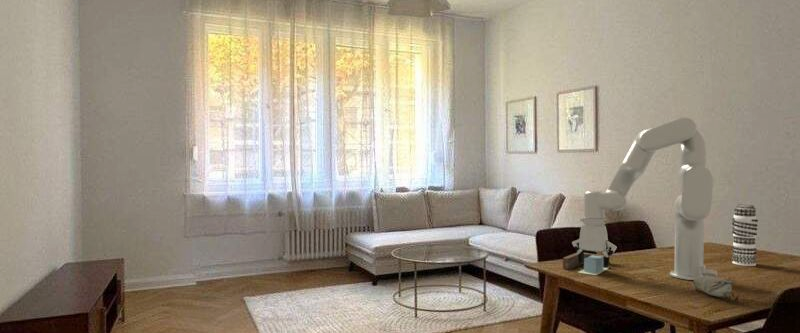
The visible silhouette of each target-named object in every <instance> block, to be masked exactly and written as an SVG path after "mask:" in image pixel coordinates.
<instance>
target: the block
mask: <svg viewBox="0 0 800 333" xmlns="http://www.w3.org/2000/svg"><path fill="white" fill-rule="evenodd" d="M583 269H584V271H585V272H592V273H597V272H599V271H601V270H602V269H603V257H602V256H594V255H591V256H589V257H587V258H585V259H584V264H583Z"/></svg>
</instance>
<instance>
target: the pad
mask: <svg viewBox="0 0 800 333" xmlns="http://www.w3.org/2000/svg"><path fill="white" fill-rule="evenodd" d="M608 270H609V267H603V269H602V270H601V271H599V272H597V273H592V272H585V271H584V268H583V269H581V270H580V271H577V273H579V274H582V275H584V274H585V275H590V276H591V275H592V276H597V275H599V274H602V273H603V272H605V271H608Z"/></svg>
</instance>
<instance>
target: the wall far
mask: <svg viewBox="0 0 800 333" xmlns="http://www.w3.org/2000/svg"><path fill="white" fill-rule="evenodd" d="M579 265H581V264H579V261H578V253H577V252H575V253H572V254H569V255H566V256H564V257H562V269H563V270H570V269H573V268H575V267H577V266H579Z"/></svg>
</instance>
